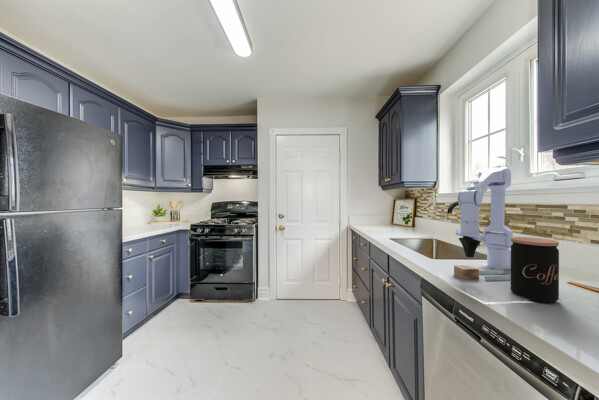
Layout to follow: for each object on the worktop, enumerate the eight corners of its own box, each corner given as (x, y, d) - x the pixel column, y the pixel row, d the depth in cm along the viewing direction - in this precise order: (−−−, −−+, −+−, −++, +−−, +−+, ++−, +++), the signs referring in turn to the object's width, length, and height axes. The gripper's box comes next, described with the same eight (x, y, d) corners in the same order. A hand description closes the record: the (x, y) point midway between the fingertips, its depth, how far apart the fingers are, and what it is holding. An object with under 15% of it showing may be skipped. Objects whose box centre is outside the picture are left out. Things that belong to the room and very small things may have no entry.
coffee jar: (520, 301, 70) (520, 241, 70) (504, 288, 80) (504, 236, 80) (568, 307, 66) (568, 244, 66) (545, 293, 76) (545, 238, 76)
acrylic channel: (502, 274, 94) (502, 269, 94) (520, 281, 87) (520, 275, 87) (470, 275, 93) (470, 270, 93) (485, 282, 86) (485, 276, 86)
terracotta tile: (471, 267, 105) (471, 265, 105) (484, 272, 98) (484, 270, 98) (454, 267, 104) (454, 265, 104) (466, 272, 97) (466, 270, 97)
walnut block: (468, 276, 93) (468, 265, 93) (478, 281, 88) (478, 269, 88) (454, 276, 93) (454, 265, 93) (463, 281, 88) (463, 269, 88)
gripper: (448, 219, 97) (448, 252, 97) (471, 223, 82) (471, 261, 83) (466, 219, 96) (465, 252, 96) (492, 223, 82) (492, 262, 82)
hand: (469, 256), depth 89 cm, fingers closed
